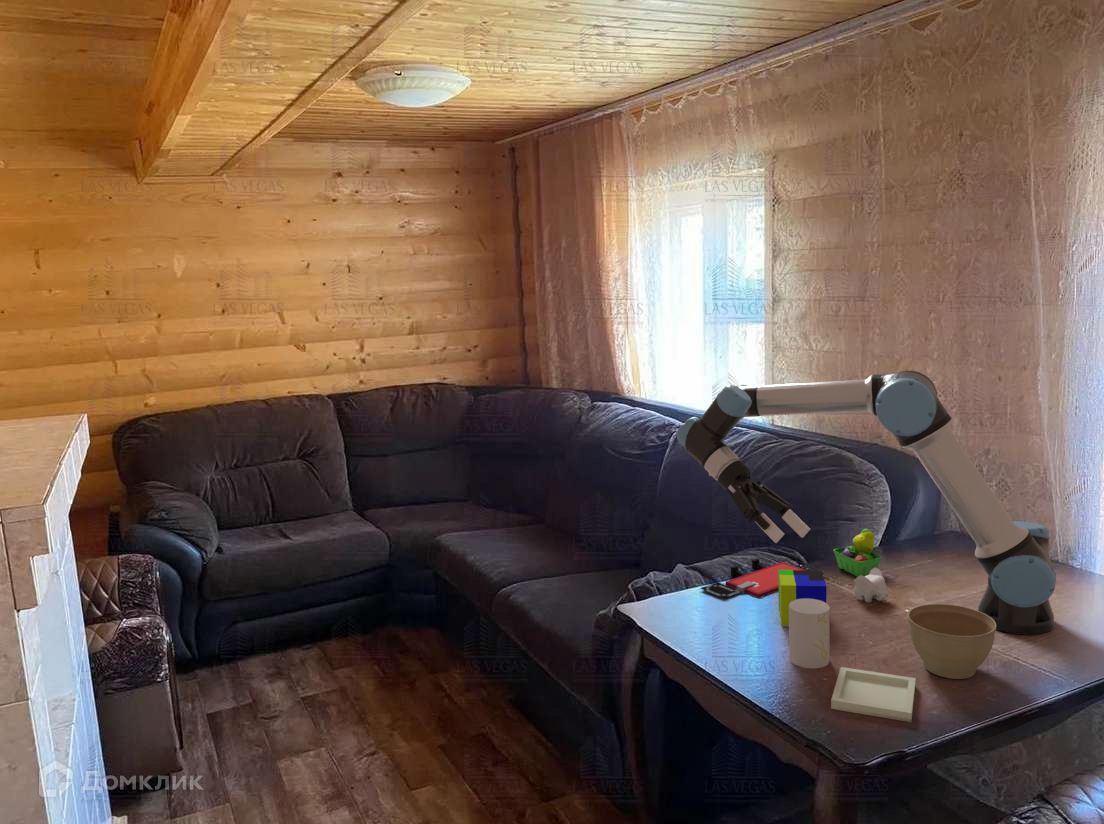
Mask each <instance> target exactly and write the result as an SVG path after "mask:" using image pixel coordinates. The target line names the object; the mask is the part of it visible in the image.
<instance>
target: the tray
mask: <svg viewBox="0 0 1104 824" xmlns="http://www.w3.org/2000/svg"><path fill="white" fill-rule="evenodd" d="M837 675H838V676H837V679H836V681H835V685H834V688H833V692H832V696H831V700H830V704H831V705H830V708H831V710H836V711H842V712H849V713H853V714H861V715H867V716H871V717H878V718H885V719H890V720H897V721H901V722H908V723H912V719H913V713H914V712H913V710H914V704H915V703H914V702H915V693H916V680H917V679H916V677H911V676H910V677H909V676H904V675H897V674H892V673H891V674H890V673H883V672H877V671H871V670H863V669H857V668H849V667H844V666H841V667H840V668H839V671H838V674H837Z"/></svg>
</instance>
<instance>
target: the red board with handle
mask: <svg viewBox="0 0 1104 824" xmlns="http://www.w3.org/2000/svg"><path fill="white" fill-rule="evenodd" d="M751 568H752V569H753V570H755V571H752V572H749V573H747V574H744V572H742V571H740V570H739V566H738V565H733V566H730V577H732V578H731V579H730V580H726V581H725V584H724V583H721V582H719V581H717V582H714V583H711V584H709V585H705V586H703V587H700V589H701V590H703V591H706V592H708V593H710V594H713V595H716V596H717V597H720V598H723V599H725V598H728V597H731V596H733V595H737V594H747V595H750V596H753V597H756V598H757V599H758V598H763V597H764V596H767V595H770V594H773V593H775V592H777V591H779V573H778V570H805V569H804V568H801V567H798V566H795V565H792V564H790V563H787V562H783V561H781V562H779V563H775V564H772V565H769V566H765V565H763V564H762V563H760V559H759V558H755V559H752V560H751ZM757 569H758V570H757Z"/></svg>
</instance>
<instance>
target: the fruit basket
mask: <svg viewBox="0 0 1104 824" xmlns="http://www.w3.org/2000/svg"><path fill="white" fill-rule="evenodd" d="M875 539H876V537H875V534H874V533H873V530H871V529H868V528H864V529H862V530H861V532H860V534H857V535H856V536H854V538H853V539H852V543H853V545H850V546H849V545H848V546H845V547H843V546H842V547H838V548H833V554H834V555H835V558H836V563H837V566H838V568H839V569H841V570H843V569H844V570H843V571H845V572H847V573H849V574H850V573H851V575H852V574H853V576H855V577H856V578H857V577H858V576H860V575H862V576H864V577H865V576H867V575H869V574H870V571H871V570H872V569H873V568H878V567H879V564H880V562H881V560H882V556H880V555H878V554H876V553H874V552H872V551H873V549H874V548H875ZM878 569H879V568H878Z"/></svg>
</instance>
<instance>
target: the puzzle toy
mask: <svg viewBox="0 0 1104 824" xmlns="http://www.w3.org/2000/svg"><path fill="white" fill-rule="evenodd" d="M778 573H779V590H778V611H779V612H780V613H779V619H781V620H780V624H781V625H789V604H790V602H792V601H794V600H797V599H816V600H820V601H823V602H825V603H827V584H826V580H825V578H824V574H823V571H822V570H814V569H813V570H809V569H808V570H807V569H804V570H778ZM781 625H780V626H781Z"/></svg>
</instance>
